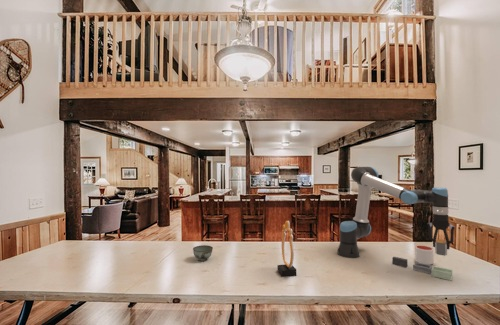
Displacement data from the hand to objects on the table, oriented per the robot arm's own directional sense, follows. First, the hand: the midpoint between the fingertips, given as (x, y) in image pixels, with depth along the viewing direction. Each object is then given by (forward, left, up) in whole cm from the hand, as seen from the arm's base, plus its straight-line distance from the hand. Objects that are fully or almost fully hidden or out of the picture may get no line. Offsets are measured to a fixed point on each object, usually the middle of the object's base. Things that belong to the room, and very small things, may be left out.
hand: (441, 253), depth 153 cm
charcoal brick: (-22, +3, -13) cm, 26 cm away
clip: (-10, +3, -13) cm, 17 cm away
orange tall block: (0, 0, 0) cm, 0 cm away
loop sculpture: (-69, -58, -13) cm, 92 cm away
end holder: (0, 0, -13) cm, 13 cm away
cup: (-11, +19, -13) cm, 25 cm away
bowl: (-125, -78, -13) cm, 148 cm away
